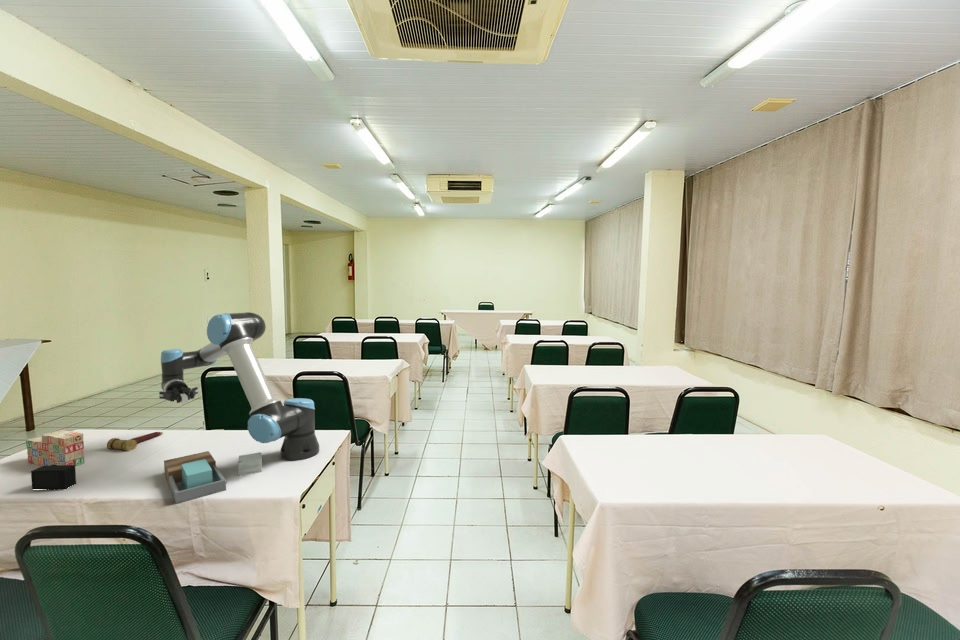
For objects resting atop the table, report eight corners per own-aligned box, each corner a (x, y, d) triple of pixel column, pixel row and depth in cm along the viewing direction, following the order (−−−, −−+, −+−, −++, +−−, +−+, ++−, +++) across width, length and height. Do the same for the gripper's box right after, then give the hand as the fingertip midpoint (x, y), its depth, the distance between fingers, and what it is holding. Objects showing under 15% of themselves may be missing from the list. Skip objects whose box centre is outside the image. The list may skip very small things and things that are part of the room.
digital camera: (79, 482, 145) (78, 463, 145) (65, 489, 140) (64, 469, 139) (47, 483, 144) (46, 464, 144) (32, 490, 139) (30, 470, 138)
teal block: (181, 464, 144) (187, 475, 135) (205, 458, 149) (212, 469, 140) (182, 483, 144) (187, 496, 136) (205, 477, 149) (212, 489, 140)
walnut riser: (164, 473, 153) (164, 460, 152) (209, 463, 162) (208, 451, 162) (169, 486, 143) (168, 472, 143) (216, 474, 153) (215, 461, 152)
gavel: (153, 427, 195) (171, 428, 193) (153, 436, 195) (171, 438, 193) (106, 439, 174) (126, 441, 172) (106, 450, 174) (126, 452, 172)
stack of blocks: (27, 463, 160) (25, 432, 160) (47, 457, 166) (45, 427, 166) (65, 470, 155) (63, 438, 154) (85, 463, 161) (83, 432, 160)
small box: (261, 464, 162) (261, 451, 162) (261, 472, 156) (261, 459, 155) (239, 468, 159) (238, 455, 158) (238, 476, 152) (237, 462, 151)
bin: (169, 486, 143) (168, 476, 143) (216, 474, 153) (215, 465, 152) (175, 504, 132) (175, 493, 131) (226, 490, 141) (225, 480, 141)
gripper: (195, 395, 176) (206, 406, 159) (157, 401, 167) (164, 413, 150) (194, 378, 175) (205, 387, 158) (156, 382, 167) (163, 393, 149)
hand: (185, 400), depth 154 cm, fingers closed
